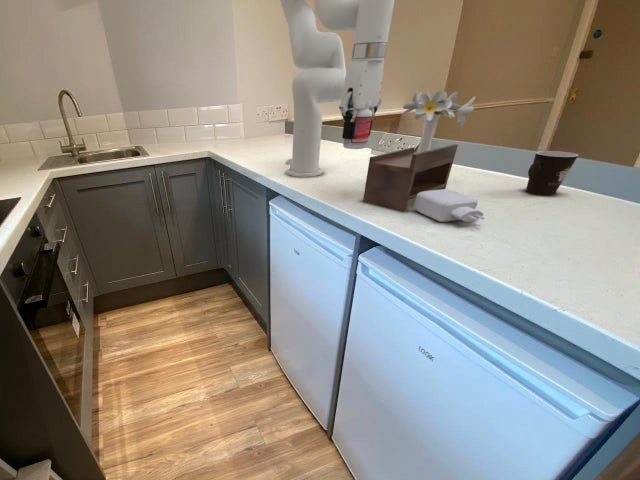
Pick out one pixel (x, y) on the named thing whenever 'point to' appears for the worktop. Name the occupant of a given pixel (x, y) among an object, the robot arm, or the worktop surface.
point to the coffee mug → (549, 171)
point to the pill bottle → (360, 129)
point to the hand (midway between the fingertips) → (356, 136)
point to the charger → (447, 206)
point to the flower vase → (435, 113)
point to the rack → (407, 175)
